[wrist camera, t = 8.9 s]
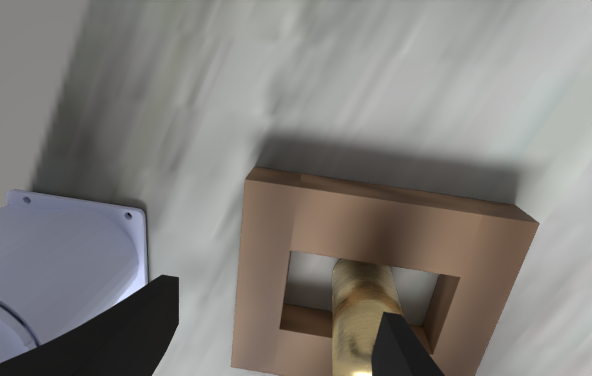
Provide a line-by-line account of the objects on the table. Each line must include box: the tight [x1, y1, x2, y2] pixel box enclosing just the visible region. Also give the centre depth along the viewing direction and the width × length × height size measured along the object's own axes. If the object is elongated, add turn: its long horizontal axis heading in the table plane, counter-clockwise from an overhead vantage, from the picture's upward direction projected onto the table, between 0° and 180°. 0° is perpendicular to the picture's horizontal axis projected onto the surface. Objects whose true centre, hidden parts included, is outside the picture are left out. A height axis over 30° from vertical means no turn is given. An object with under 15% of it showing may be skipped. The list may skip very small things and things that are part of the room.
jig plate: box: [231, 167, 540, 376], centre depth 22 cm, size 16×14×2 cm
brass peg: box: [332, 258, 405, 376], centre depth 19 cm, size 4×4×8 cm
